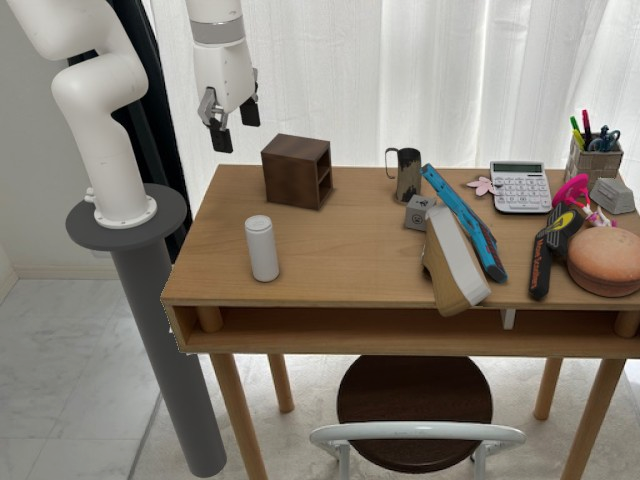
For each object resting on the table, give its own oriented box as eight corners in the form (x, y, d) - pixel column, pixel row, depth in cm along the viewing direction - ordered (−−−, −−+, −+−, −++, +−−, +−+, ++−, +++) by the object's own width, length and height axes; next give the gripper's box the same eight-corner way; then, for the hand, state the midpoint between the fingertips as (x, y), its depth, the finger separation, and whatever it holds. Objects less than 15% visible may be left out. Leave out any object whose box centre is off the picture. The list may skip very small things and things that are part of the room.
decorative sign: (537, 215, 131) (578, 190, 125) (543, 222, 132) (584, 197, 126) (528, 293, 111) (576, 267, 105) (535, 301, 112) (583, 276, 106)
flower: (494, 199, 135) (493, 205, 136) (517, 181, 141) (516, 187, 142) (457, 184, 139) (456, 190, 141) (481, 167, 146) (480, 173, 147)
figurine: (556, 186, 127) (606, 236, 121) (592, 166, 129) (642, 215, 123) (547, 214, 135) (592, 263, 129) (580, 195, 138) (627, 242, 132)
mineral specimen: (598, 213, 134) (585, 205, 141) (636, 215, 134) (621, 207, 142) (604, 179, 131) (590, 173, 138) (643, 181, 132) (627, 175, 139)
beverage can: (251, 270, 118) (241, 217, 110) (276, 265, 119) (268, 212, 111) (256, 285, 114) (246, 232, 106) (282, 280, 116) (274, 227, 108)
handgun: (499, 289, 116) (488, 242, 127) (512, 281, 114) (499, 235, 126) (423, 211, 104) (417, 168, 115) (436, 202, 103) (429, 159, 114)
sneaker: (439, 185, 122) (396, 211, 124) (475, 270, 100) (422, 300, 102) (462, 221, 128) (420, 245, 130) (500, 308, 106) (450, 336, 108)
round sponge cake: (572, 210, 121) (562, 255, 126) (571, 246, 108) (561, 294, 113) (656, 221, 118) (642, 267, 124) (665, 260, 105) (650, 309, 111)
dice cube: (428, 232, 128) (429, 211, 124) (405, 227, 129) (406, 206, 126) (435, 219, 131) (436, 199, 128) (413, 214, 133) (413, 194, 129)
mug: (420, 191, 140) (422, 142, 132) (421, 204, 136) (423, 155, 128) (385, 191, 140) (385, 142, 132) (385, 204, 136) (385, 155, 128)
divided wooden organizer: (267, 201, 136) (260, 151, 128) (284, 181, 142) (278, 132, 134) (318, 210, 133) (314, 160, 125) (333, 189, 140) (330, 141, 132)
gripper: (223, 9, 97) (241, 113, 108) (162, 46, 84) (190, 159, 95) (267, 13, 95) (281, 119, 106) (212, 51, 83) (234, 166, 94)
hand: (238, 138), depth 101 cm, fingers open, 9 cm apart
